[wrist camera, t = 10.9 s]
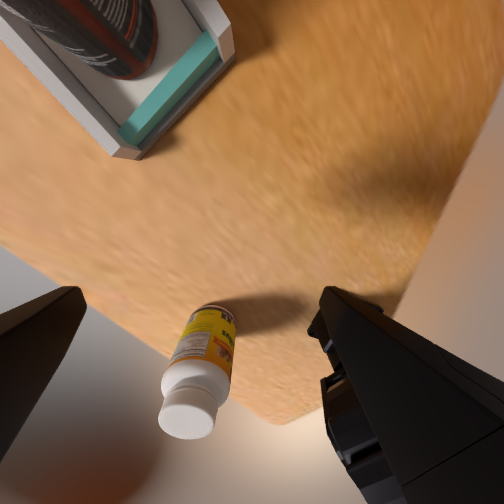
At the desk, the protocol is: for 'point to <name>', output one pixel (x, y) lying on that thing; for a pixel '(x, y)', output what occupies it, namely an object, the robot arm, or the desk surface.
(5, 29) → the pusher lane
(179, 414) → the supplement bottle
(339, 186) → the desk surface
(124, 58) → the supplement bottle
